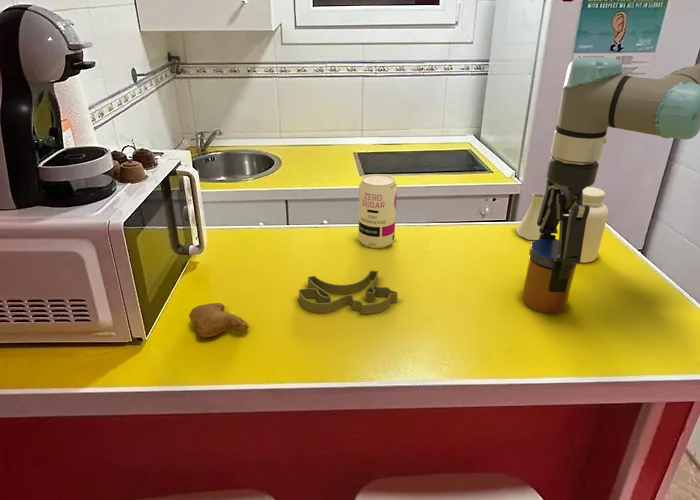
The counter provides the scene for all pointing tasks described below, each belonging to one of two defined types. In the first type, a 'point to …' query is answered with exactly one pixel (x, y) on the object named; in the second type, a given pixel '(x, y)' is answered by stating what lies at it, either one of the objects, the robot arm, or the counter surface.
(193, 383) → the counter surface
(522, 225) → the flask
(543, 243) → the jam lid
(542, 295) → the jam jar
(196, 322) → the brown irregular lump
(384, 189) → the supplement can
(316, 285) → the cookie cutter
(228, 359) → the counter surface
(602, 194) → the pill bottle
